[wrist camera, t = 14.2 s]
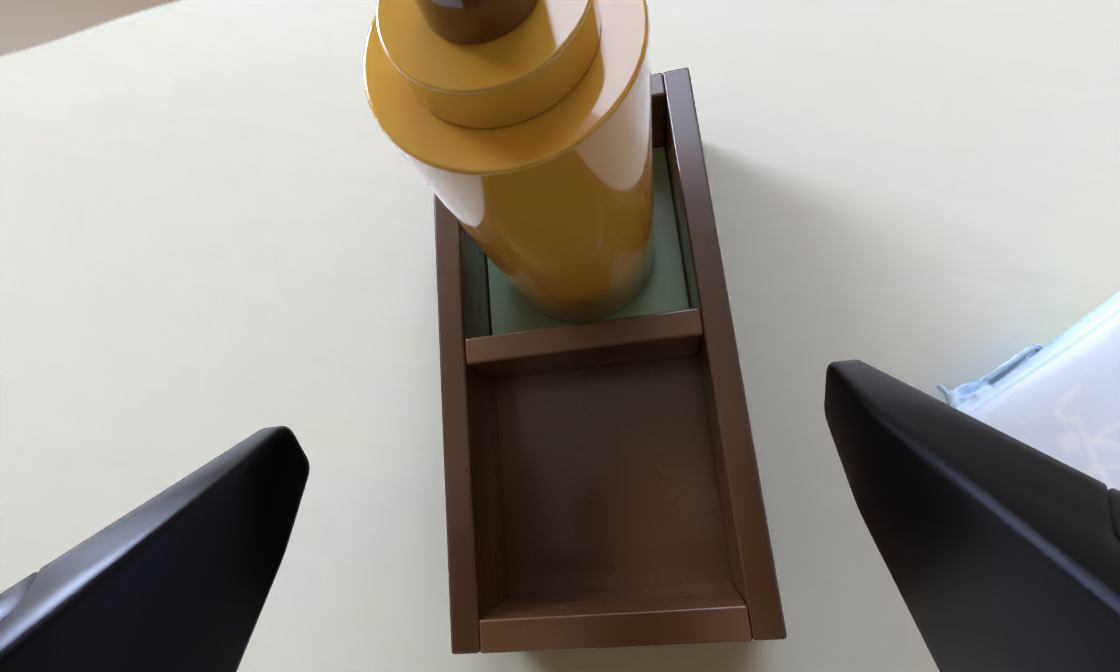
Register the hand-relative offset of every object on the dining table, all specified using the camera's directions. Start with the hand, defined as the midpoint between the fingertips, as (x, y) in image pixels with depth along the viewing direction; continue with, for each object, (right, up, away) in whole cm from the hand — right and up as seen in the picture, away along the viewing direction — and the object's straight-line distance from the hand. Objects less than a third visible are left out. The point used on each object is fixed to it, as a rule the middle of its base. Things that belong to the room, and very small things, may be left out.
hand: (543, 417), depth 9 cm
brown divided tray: (+1, +1, +10) cm, 10 cm away
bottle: (+1, +4, +10) cm, 11 cm away
